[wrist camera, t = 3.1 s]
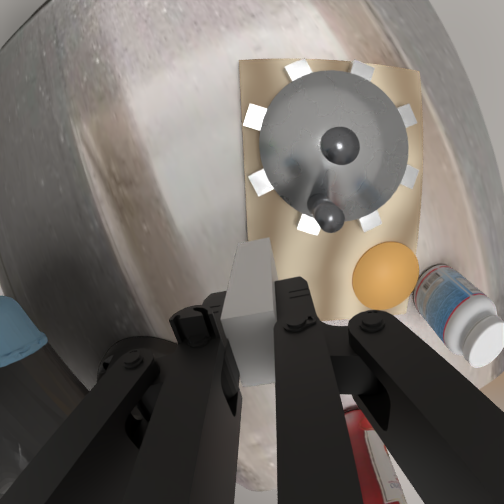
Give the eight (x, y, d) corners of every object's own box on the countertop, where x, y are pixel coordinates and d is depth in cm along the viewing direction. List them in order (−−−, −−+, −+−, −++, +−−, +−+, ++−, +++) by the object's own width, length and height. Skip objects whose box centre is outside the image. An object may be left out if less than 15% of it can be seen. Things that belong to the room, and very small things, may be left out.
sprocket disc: (274, 36, 21) (278, 6, 15) (432, 103, 22) (472, 98, 16) (220, 201, 26) (208, 220, 20) (379, 253, 27) (407, 283, 21)
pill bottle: (414, 320, 31) (459, 385, 21) (408, 274, 29) (463, 334, 19) (457, 301, 30) (509, 356, 20) (454, 255, 28) (517, 303, 18)
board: (252, 317, 31) (252, 323, 30) (239, 63, 23) (238, 60, 22) (401, 308, 31) (405, 313, 29) (413, 73, 22) (419, 71, 21)
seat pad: (348, 310, 29) (350, 312, 29) (354, 242, 27) (356, 243, 27) (411, 305, 29) (412, 306, 29) (421, 240, 27) (423, 241, 26)
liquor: (384, 420, 37) (433, 587, 11) (338, 440, 39) (366, 608, 12) (369, 394, 35) (425, 592, 9) (318, 418, 37) (344, 613, 10)
